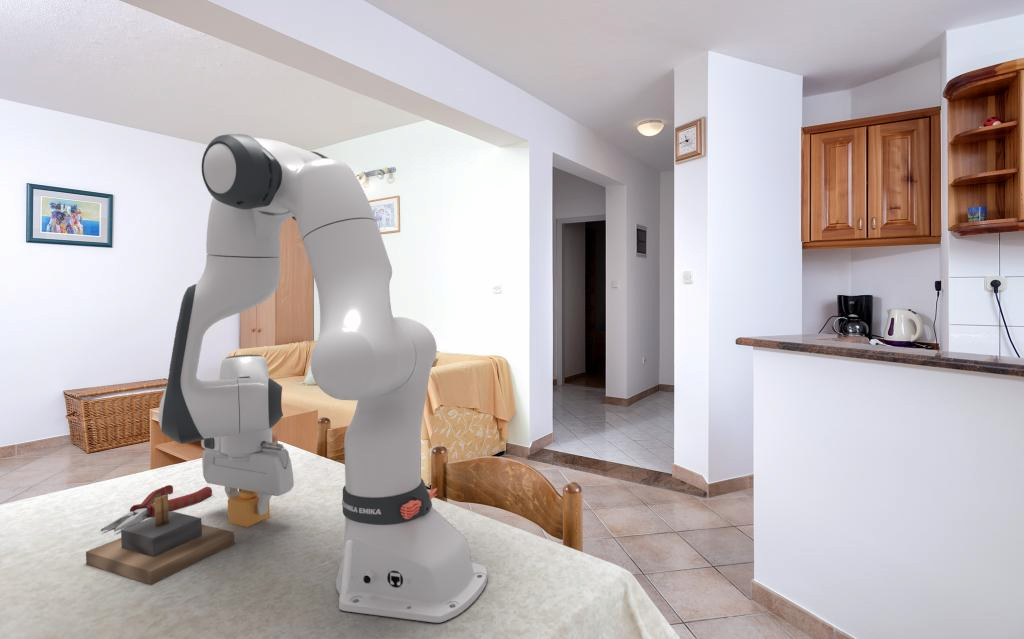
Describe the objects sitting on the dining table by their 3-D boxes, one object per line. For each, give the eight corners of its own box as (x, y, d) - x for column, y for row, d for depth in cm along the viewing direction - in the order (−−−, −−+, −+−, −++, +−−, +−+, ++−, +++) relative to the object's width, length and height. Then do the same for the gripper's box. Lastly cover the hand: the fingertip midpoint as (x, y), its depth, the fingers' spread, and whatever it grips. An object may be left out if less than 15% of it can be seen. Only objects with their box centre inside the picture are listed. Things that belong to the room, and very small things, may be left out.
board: (234, 543, 90) (232, 489, 89) (150, 584, 77) (148, 521, 77) (173, 528, 96) (171, 477, 96) (86, 563, 83) (83, 505, 83)
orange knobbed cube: (269, 516, 101) (268, 487, 101) (247, 527, 96) (246, 496, 96) (251, 512, 103) (250, 484, 103) (228, 522, 98) (227, 493, 98)
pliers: (80, 535, 95) (79, 521, 94) (167, 494, 114) (167, 482, 114) (136, 539, 93) (135, 524, 93) (215, 496, 113) (214, 485, 113)
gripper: (300, 440, 98) (302, 513, 98) (224, 430, 106) (226, 497, 106) (273, 449, 92) (275, 526, 92) (194, 438, 100) (197, 509, 100)
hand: (248, 511), depth 99 cm, fingers closed on orange knobbed cube, 5 cm apart
